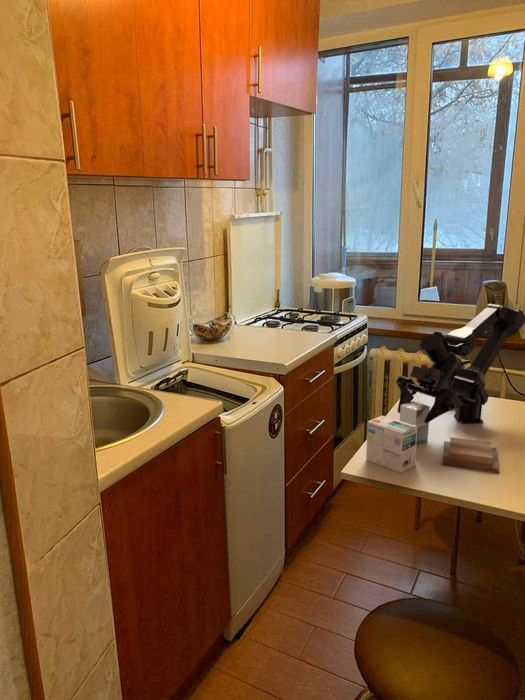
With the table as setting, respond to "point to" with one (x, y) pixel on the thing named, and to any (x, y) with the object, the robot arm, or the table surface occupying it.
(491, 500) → the table surface
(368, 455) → the light bulb box
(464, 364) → the pump dispenser
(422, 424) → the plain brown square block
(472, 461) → the walnut stand
